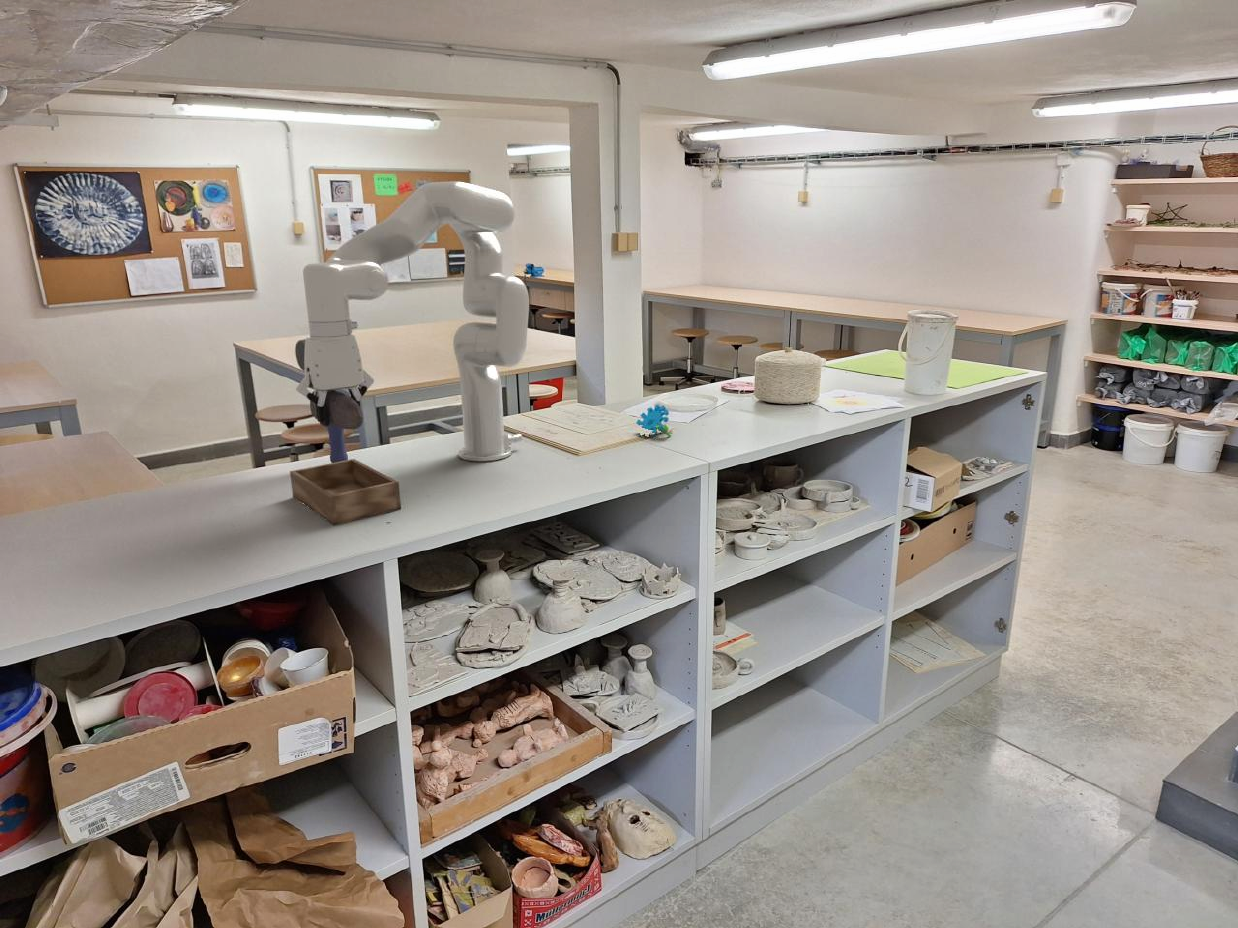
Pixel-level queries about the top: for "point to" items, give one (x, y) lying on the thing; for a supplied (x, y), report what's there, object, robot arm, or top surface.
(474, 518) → the top surface
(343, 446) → the rubber mallet
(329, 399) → the perforated stone tool
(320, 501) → the box
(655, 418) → the blue bumpy cluster
